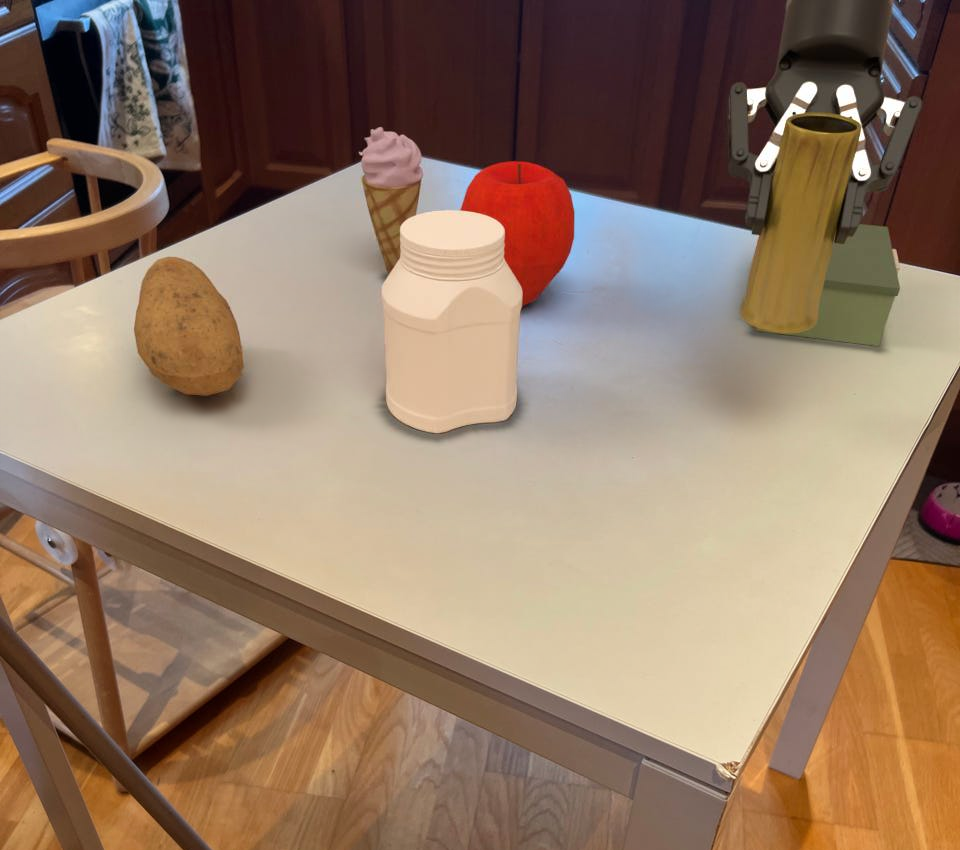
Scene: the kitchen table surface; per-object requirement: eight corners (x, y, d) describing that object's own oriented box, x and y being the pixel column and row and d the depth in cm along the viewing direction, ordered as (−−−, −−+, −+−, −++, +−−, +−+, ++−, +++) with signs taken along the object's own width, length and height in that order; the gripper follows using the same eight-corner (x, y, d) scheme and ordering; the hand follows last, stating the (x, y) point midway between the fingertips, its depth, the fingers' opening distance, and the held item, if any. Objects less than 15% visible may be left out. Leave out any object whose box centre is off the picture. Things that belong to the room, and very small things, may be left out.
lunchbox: (875, 282, 107) (892, 227, 103) (886, 348, 96) (905, 288, 91) (753, 268, 109) (765, 213, 105) (748, 331, 98) (761, 272, 94)
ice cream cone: (352, 272, 106) (342, 122, 96) (395, 257, 109) (390, 111, 99) (392, 291, 102) (386, 138, 92) (435, 276, 106) (434, 125, 95)
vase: (810, 303, 80) (860, 112, 70) (822, 337, 75) (877, 137, 65) (735, 299, 80) (774, 108, 70) (743, 332, 75) (785, 133, 66)
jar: (490, 366, 91) (496, 200, 81) (532, 415, 84) (545, 242, 74) (372, 386, 87) (363, 215, 77) (407, 439, 81) (402, 261, 71)
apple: (590, 314, 100) (605, 177, 90) (487, 334, 96) (492, 192, 87) (536, 271, 107) (545, 141, 98) (439, 288, 103) (438, 153, 94)
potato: (152, 432, 81) (127, 326, 74) (141, 349, 92) (119, 250, 85) (256, 419, 83) (241, 314, 77) (234, 339, 94) (218, 241, 87)
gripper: (745, -31, 69) (705, 200, 69) (956, -19, 67) (916, 220, 66) (734, 38, 76) (697, 247, 76) (923, 52, 74) (887, 267, 74)
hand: (799, 233), depth 71 cm, fingers closed on vase, 5 cm apart
